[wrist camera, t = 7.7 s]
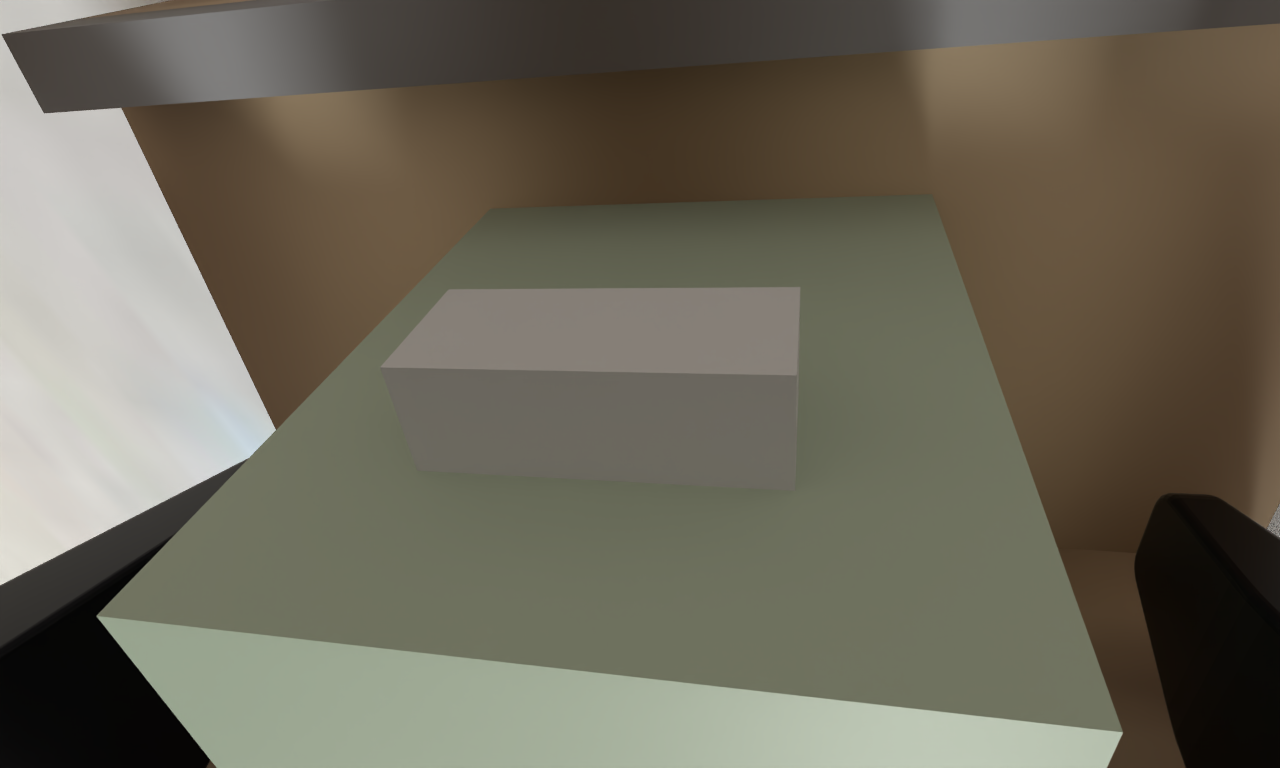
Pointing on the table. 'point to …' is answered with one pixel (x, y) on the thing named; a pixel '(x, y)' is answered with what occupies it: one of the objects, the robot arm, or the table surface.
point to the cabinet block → (640, 519)
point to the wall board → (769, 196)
